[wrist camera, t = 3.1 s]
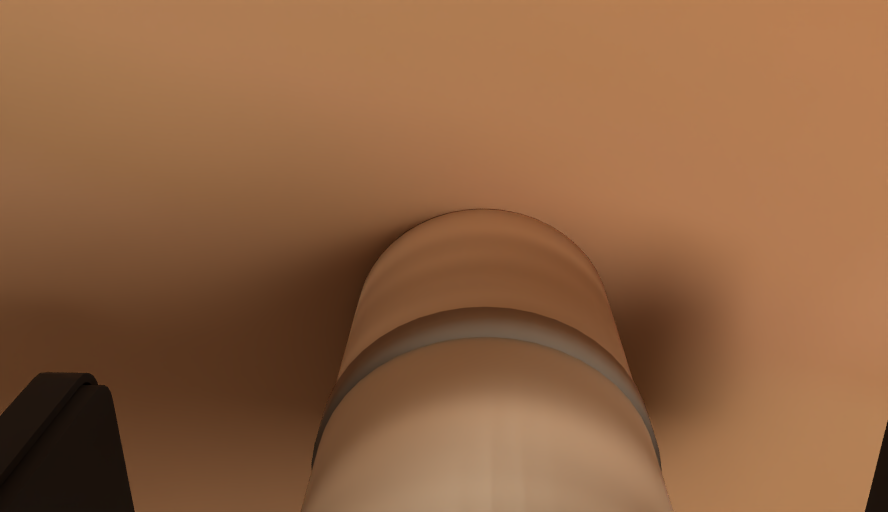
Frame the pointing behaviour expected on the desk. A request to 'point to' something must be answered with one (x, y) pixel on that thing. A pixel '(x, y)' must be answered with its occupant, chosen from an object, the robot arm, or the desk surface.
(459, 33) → the desk surface
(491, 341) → the peg
